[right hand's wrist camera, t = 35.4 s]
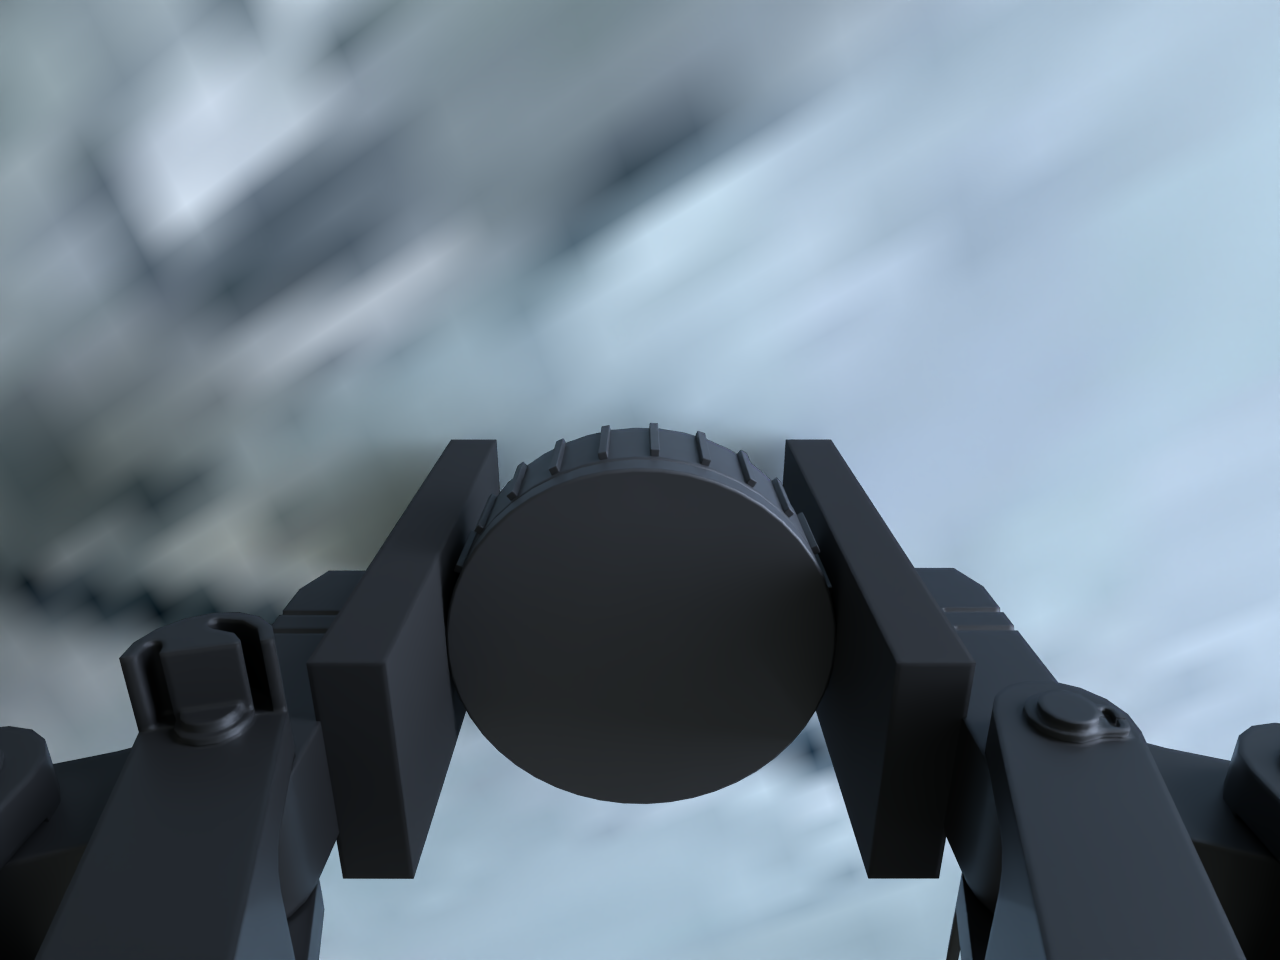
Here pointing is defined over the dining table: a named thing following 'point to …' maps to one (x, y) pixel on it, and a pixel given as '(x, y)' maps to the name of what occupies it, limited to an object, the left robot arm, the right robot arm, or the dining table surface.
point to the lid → (641, 617)
